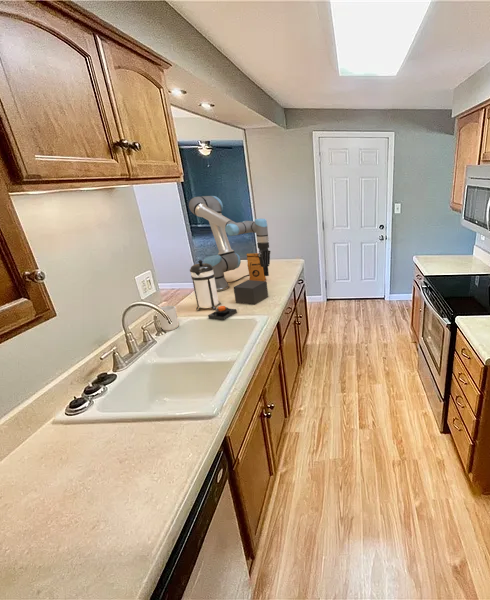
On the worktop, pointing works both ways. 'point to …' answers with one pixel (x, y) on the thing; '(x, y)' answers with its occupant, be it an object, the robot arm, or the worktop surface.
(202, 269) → the coffee press
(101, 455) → the worktop surface
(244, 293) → the dark grey box
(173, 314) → the mug
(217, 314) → the panel
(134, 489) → the worktop surface
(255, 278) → the coffee package
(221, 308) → the button
